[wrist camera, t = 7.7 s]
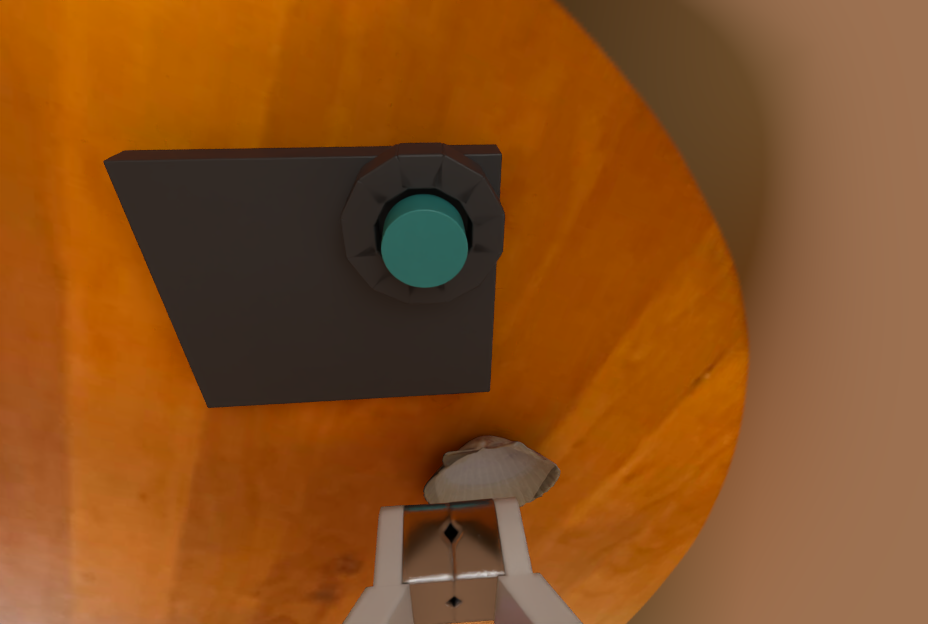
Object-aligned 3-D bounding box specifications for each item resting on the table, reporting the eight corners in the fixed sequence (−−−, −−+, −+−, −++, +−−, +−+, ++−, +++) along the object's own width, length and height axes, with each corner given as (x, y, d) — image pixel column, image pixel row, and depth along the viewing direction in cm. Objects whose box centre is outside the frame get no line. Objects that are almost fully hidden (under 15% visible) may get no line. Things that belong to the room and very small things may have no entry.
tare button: (464, 192, 16) (468, 208, 15) (464, 266, 18) (467, 286, 17) (379, 194, 16) (376, 210, 15) (386, 269, 18) (385, 290, 17)
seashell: (439, 477, 32) (555, 489, 31) (430, 521, 30) (555, 537, 29) (424, 410, 26) (566, 422, 25) (412, 459, 24) (567, 474, 23)
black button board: (497, 132, 18) (510, 152, 15) (486, 374, 25) (494, 415, 22) (117, 137, 17) (66, 160, 14) (217, 388, 24) (194, 433, 21)
